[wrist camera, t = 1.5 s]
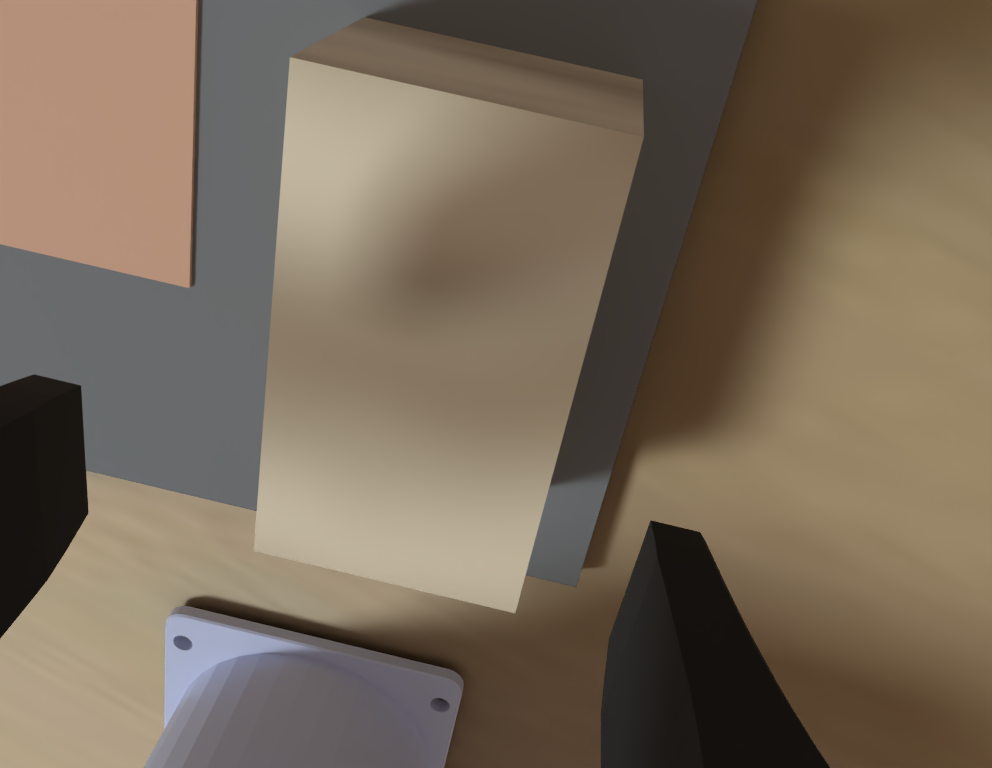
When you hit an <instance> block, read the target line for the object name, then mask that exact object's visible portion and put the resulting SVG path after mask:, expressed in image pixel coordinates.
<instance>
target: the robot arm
mask: <svg viewBox="0 0 992 768" xmlns="http://www.w3.org/2000/svg"><path fill="white" fill-rule="evenodd" d="M87 515H88V498H87V480H86V463H85V445H84V427H83V410H82V392H81V385H77V384H73V383H69V382H64V381H60V380H56V379H52V378H48V377H43V376H39V375H35V374H34V375H31V376H27V377H24V378H21V379H18V380H15V381H13V382H10V383H7V384H4V385H2V386H0V638H1V637H2V636H3V634H4V633H5V632H6V631H7V630H8V628H9V627H10V626H11V625H12V623H13V622H14V621H15V620H16V618H17V617H18V616H19V615H20V614H21V612H22V611H23V610H24V609H25V607H26V606H27V605H28V604H29V602H30V601H31V600H32V599H33V597H34V596H35V595H36V594H37V592H38V591H39V590H40V589H41V587H42V586H43V585H44V584H45V582H46V581H47V580H48V578H49V577H50V575H51V573H52V572H53V570H54V569H55V567H56V566H57V564H58V563H59V561H60V559H61V558H62V556H63V555H64V553H65V552H66V550H67V548H68V547H69V545H70V543H71V542H72V540H73V538H74V536H75V535H76V533H77V531H78V530H79V528H80V526H81V525H82V523H83V521H84V520H85V518H86V516H87ZM183 636H184V637H187V638H188V639H187V638H184V637H183ZM463 688H464V681H463V679H462V678H461V676H460V675H459V674H457V673H456V672H455V671H452V670H450V669H447V668H442V667H438V666H434V665H430V664H426V663H422V662H418V661H413V660H409V659H405V658H401V657H397V656H393V655H389V654H384V653H380V652H376V651H372V650H368V649H364V648H360V647H355V646H351V645H347V644H343V643H339V642H335V641H331V640H326V639H322V638H318V637H314V636H310V635H306V634H301V633H297V632H293V631H289V630H285V629H281V628H277V627H272V626H268V625H264V624H260V623H256V622H252V621H248V620H243V619H239V618H235V617H231V616H227V615H223V614H219V613H214V612H210V611H206V610H202V609H198V608H194V607H189V606H180V607H176V608H175V609H174V610H173V611H172V612H171V613H170V615H169V617H168V618H167V621H166V628H165V718H164V731H163V733H162V735H161V737H160V739H159V740H158V742H157V744H156V746H155V748H154V749H153V751H152V753H151V755H150V757H149V759H148V760H147V762H146V764H145V766H144V768H444V766H445V762H446V758H447V754H448V750H449V746H450V742H451V738H452V733H453V729H454V725H455V721H456V717H457V713H458V709H459V705H460V701H461V697H462V692H463ZM437 698H442V699H444V700H446V701H441V700H439V699H437ZM601 768H830V767H829V766H828V764H827V763H826V761H825V760H824V758H823V757H822V755H821V754H820V752H819V751H818V749H817V748H816V746H815V744H814V743H813V741H812V740H811V738H810V736H809V735H808V733H807V732H806V730H805V728H804V727H803V725H802V724H801V722H800V720H799V719H798V717H797V716H796V714H795V712H794V711H793V709H792V707H791V706H790V704H789V702H788V701H787V699H786V697H785V696H784V694H783V692H782V690H781V689H780V687H779V685H778V684H777V682H776V680H775V678H774V676H773V675H772V673H771V671H770V669H769V667H768V665H767V664H766V662H765V660H764V658H763V656H762V655H761V653H760V651H759V649H758V647H757V645H756V644H755V642H754V640H753V638H752V636H751V634H750V632H749V630H748V628H747V627H746V625H745V623H744V621H743V619H742V617H741V615H740V613H739V611H738V609H737V607H736V605H735V603H734V601H733V599H732V597H731V595H730V593H729V590H728V588H727V586H726V584H725V582H724V580H723V578H722V576H721V574H720V571H719V569H718V567H717V565H716V563H715V561H714V559H713V556H712V554H711V552H710V550H709V548H708V546H707V544H706V541H705V540H704V538H703V536H702V535H701V533H700V532H697V531H693V530H689V529H684V528H680V527H676V526H672V525H668V524H663V523H659V522H655V521H650V524H649V527H648V530H647V532H646V535H645V538H644V541H643V544H642V547H641V550H640V552H639V555H638V558H637V561H636V564H635V567H634V569H633V572H632V575H631V578H630V581H629V584H628V586H627V589H626V592H625V595H624V598H623V601H622V604H621V606H620V609H619V612H618V615H617V618H616V621H615V623H614V626H613V629H612V632H611V635H610V638H609V645H608V653H607V662H606V670H605V679H604V689H603V699H602V708H601Z"/></svg>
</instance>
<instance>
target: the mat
mask: <svg viewBox="0 0 992 768" xmlns="http://www.w3.org/2000/svg"><path fill="white" fill-rule="evenodd" d="M757 1H758V0H0V386H2V385H4V384H7V383H10V382H13V381H15V380H18V379H21V378H24V377H27V376H31V375H34V374H35V375H39V376H43V377H48V378H52V379H56V380H60V381H64V382H69V383H73V384H77V385H81V392H82V410H83V427H84V445H85V463H86V471H91V472H95V473H99V474H103V475H107V476H112V477H116V478H120V479H124V480H128V481H133V482H137V483H141V484H145V485H149V486H154V487H158V488H162V489H166V490H170V491H175V492H179V493H183V494H187V495H191V496H196V497H200V498H204V499H208V500H212V501H217V502H221V503H225V504H229V505H233V506H238V507H242V508H246V509H250V510H254V511H257V500H258V486H259V473H260V459H261V445H262V432H263V418H264V404H265V391H266V377H267V363H268V350H269V336H270V322H271V309H272V295H273V281H274V268H275V254H276V240H277V227H278V213H279V199H280V185H281V172H282V158H283V144H284V131H285V117H286V103H287V90H288V76H289V62H290V57H291V56H293V55H295V54H297V53H298V52H300V51H302V50H304V49H306V48H308V47H310V46H311V45H313V44H315V43H317V42H319V41H321V40H323V39H324V38H326V37H328V36H330V35H332V34H334V33H336V32H337V31H339V30H341V29H343V28H345V27H347V26H349V25H350V24H352V23H354V22H356V21H358V20H360V19H362V18H363V17H366V18H370V19H375V20H379V21H384V22H388V23H393V24H397V25H402V26H406V27H411V28H415V29H419V30H424V31H428V32H433V33H437V34H442V35H446V36H451V37H455V38H460V39H464V40H469V41H473V42H477V43H482V44H486V45H491V46H495V47H500V48H504V49H509V50H513V51H518V52H522V53H526V54H531V55H535V56H540V57H544V58H549V59H553V60H558V61H562V62H567V63H571V64H575V65H580V66H584V67H589V68H593V69H598V70H602V71H607V72H611V73H616V74H620V75H625V76H629V77H633V78H638V79H642V80H643V115H644V139H643V142H642V146H641V150H640V153H639V157H638V161H637V165H636V168H635V172H634V176H633V179H632V183H631V187H630V190H629V194H628V198H627V202H626V205H625V209H624V213H623V216H622V220H621V224H620V227H619V231H618V235H617V239H616V242H615V246H614V250H613V253H612V257H611V261H610V264H609V268H608V272H607V276H606V279H605V283H604V287H603V290H602V294H601V298H600V301H599V305H598V309H597V313H596V316H595V320H594V324H593V327H592V331H591V335H590V338H589V342H588V346H587V350H586V353H585V357H584V361H583V364H582V368H581V372H580V375H579V379H578V383H577V386H576V390H575V394H574V398H573V401H572V405H571V409H570V412H569V416H568V420H567V423H566V427H565V431H564V435H563V438H562V442H561V446H560V449H559V453H558V457H557V460H556V464H555V468H554V472H553V475H552V479H551V483H550V486H549V490H548V494H547V497H546V501H545V505H544V509H543V512H542V516H541V520H540V523H539V527H538V531H537V534H536V538H535V542H534V546H533V549H532V553H531V557H530V560H529V564H528V568H527V571H526V575H527V576H532V577H536V578H540V579H544V580H548V581H553V582H557V583H561V584H565V585H569V586H574V587H576V586H577V582H578V579H579V576H580V573H581V570H582V566H583V563H584V560H585V557H586V553H587V550H588V547H589V544H590V540H591V537H592V534H593V531H594V527H595V524H596V521H597V518H598V515H599V511H600V508H601V505H602V502H603V498H604V495H605V492H606V489H607V485H608V482H609V479H610V476H611V473H612V469H613V466H614V463H615V460H616V456H617V453H618V450H619V447H620V443H621V440H622V437H623V434H624V431H625V427H626V424H627V421H628V418H629V414H630V411H631V408H632V405H633V401H634V398H635V395H636V392H637V389H638V385H639V382H640V379H641V376H642V372H643V369H644V366H645V363H646V359H647V356H648V353H649V350H650V347H651V343H652V340H653V337H654V334H655V330H656V327H657V324H658V321H659V317H660V314H661V311H662V308H663V304H664V301H665V298H666V295H667V292H668V288H669V285H670V282H671V279H672V275H673V272H674V269H675V266H676V262H677V259H678V256H679V253H680V250H681V246H682V243H683V240H684V237H685V233H686V230H687V227H688V224H689V220H690V217H691V214H692V211H693V208H694V204H695V201H696V198H697V195H698V191H699V188H700V185H701V182H702V178H703V175H704V172H705V169H706V166H707V162H708V159H709V156H710V153H711V149H712V146H713V143H714V140H715V136H716V133H717V130H718V127H719V124H720V120H721V117H722V114H723V111H724V107H725V104H726V101H727V98H728V94H729V91H730V88H731V85H732V81H733V78H734V75H735V72H736V69H737V65H738V62H739V59H740V56H741V52H742V49H743V46H744V43H745V39H746V36H747V33H748V30H749V27H750V23H751V20H752V17H753V14H754V10H755V7H756V4H757Z"/></svg>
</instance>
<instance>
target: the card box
mask: <svg viewBox="0 0 992 768" xmlns="http://www.w3.org/2000/svg"><path fill="white" fill-rule="evenodd" d="M643 139H644V115H643V80H642V79H638V78H633V77H629V76H625V75H620V74H616V73H611V72H607V71H602V70H598V69H593V68H589V67H584V66H580V65H575V64H571V63H567V62H562V61H558V60H553V59H549V58H544V57H540V56H535V55H531V54H526V53H522V52H518V51H513V50H509V49H504V48H500V47H495V46H491V45H486V44H482V43H477V42H473V41H469V40H464V39H460V38H455V37H451V36H446V35H442V34H437V33H433V32H428V31H424V30H419V29H415V28H411V27H406V26H402V25H397V24H393V23H388V22H384V21H379V20H375V19H370V18H366V17H363V18H362V19H360V20H358V21H356V22H354V23H352V24H350V25H349V26H347V27H345V28H343V29H341V30H339V31H337V32H336V33H334V34H332V35H330V36H328V37H326V38H324V39H323V40H321V41H319V42H317V43H315V44H313V45H311V46H310V47H308V48H306V49H304V50H302V51H300V52H298V53H297V54H295V55H293V56H291V57H290V62H289V76H288V90H287V103H286V117H285V131H284V144H283V158H282V172H281V185H280V199H279V213H278V227H277V240H276V254H275V268H274V281H273V295H272V309H271V322H270V336H269V350H268V363H267V377H266V391H265V404H264V418H263V432H262V445H261V459H260V473H259V486H258V500H257V514H256V527H255V541H254V551H256V552H260V553H265V554H269V555H273V556H277V557H281V558H285V559H290V560H294V561H298V562H302V563H306V564H311V565H315V566H319V567H323V568H327V569H331V570H336V571H340V572H344V573H348V574H352V575H356V576H361V577H365V578H369V579H373V580H377V581H382V582H386V583H390V584H394V585H398V586H402V587H407V588H411V589H415V590H419V591H423V592H428V593H432V594H436V595H440V596H444V597H448V598H453V599H457V600H461V601H465V602H469V603H474V604H478V605H482V606H486V607H490V608H494V609H499V610H503V611H507V612H511V613H515V612H516V608H517V605H518V601H519V597H520V594H521V590H522V586H523V583H524V579H525V575H526V571H527V568H528V564H529V560H530V557H531V553H532V549H533V546H534V542H535V538H536V534H537V531H538V527H539V523H540V520H541V516H542V512H543V509H544V505H545V501H546V497H547V494H548V490H549V486H550V483H551V479H552V475H553V472H554V468H555V464H556V460H557V457H558V453H559V449H560V446H561V442H562V438H563V435H564V431H565V427H566V423H567V420H568V416H569V412H570V409H571V405H572V401H573V398H574V394H575V390H576V386H577V383H578V379H579V375H580V372H581V368H582V364H583V361H584V357H585V353H586V350H587V346H588V342H589V338H590V335H591V331H592V327H593V324H594V320H595V316H596V313H597V309H598V305H599V301H600V298H601V294H602V290H603V287H604V283H605V279H606V276H607V272H608V268H609V264H610V261H611V257H612V253H613V250H614V246H615V242H616V239H617V235H618V231H619V227H620V224H621V220H622V216H623V213H624V209H625V205H626V202H627V198H628V194H629V190H630V187H631V183H632V179H633V176H634V172H635V168H636V165H637V161H638V157H639V153H640V150H641V146H642V142H643Z"/></svg>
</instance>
